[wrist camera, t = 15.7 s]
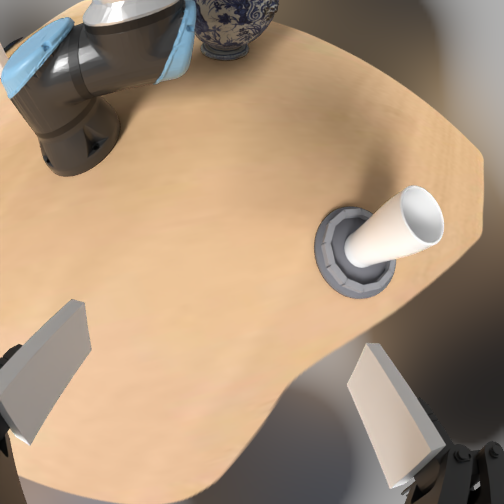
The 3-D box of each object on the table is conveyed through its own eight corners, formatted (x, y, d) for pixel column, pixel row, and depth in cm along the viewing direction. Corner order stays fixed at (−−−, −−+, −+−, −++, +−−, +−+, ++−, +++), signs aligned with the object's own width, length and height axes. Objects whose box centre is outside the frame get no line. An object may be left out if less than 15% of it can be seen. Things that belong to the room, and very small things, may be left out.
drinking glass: (382, 245, 39) (449, 210, 24) (366, 282, 37) (438, 259, 22) (349, 220, 39) (407, 172, 24) (330, 256, 37) (392, 218, 23)
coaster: (304, 211, 39) (309, 206, 37) (380, 206, 41) (386, 201, 39) (325, 307, 36) (331, 306, 34) (401, 288, 38) (408, 286, 36)
